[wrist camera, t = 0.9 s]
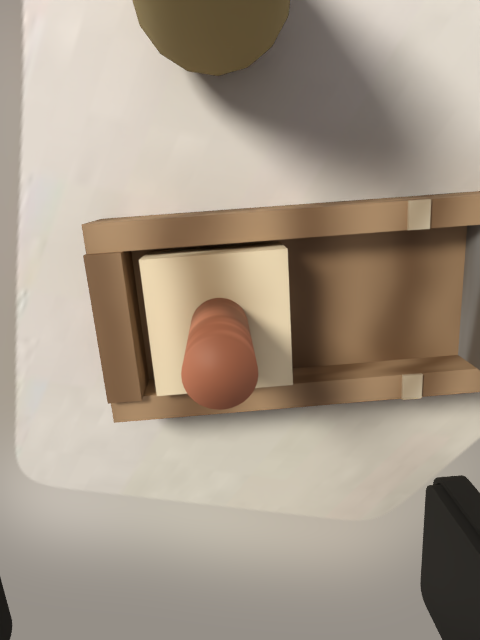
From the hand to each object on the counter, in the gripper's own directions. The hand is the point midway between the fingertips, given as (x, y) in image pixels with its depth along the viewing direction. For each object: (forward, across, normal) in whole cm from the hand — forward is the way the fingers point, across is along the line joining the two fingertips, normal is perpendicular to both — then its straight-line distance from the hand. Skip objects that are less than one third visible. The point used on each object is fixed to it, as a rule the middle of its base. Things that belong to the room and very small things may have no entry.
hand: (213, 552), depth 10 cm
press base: (+22, -6, 0) cm, 23 cm away
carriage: (+20, 0, 0) cm, 20 cm away
